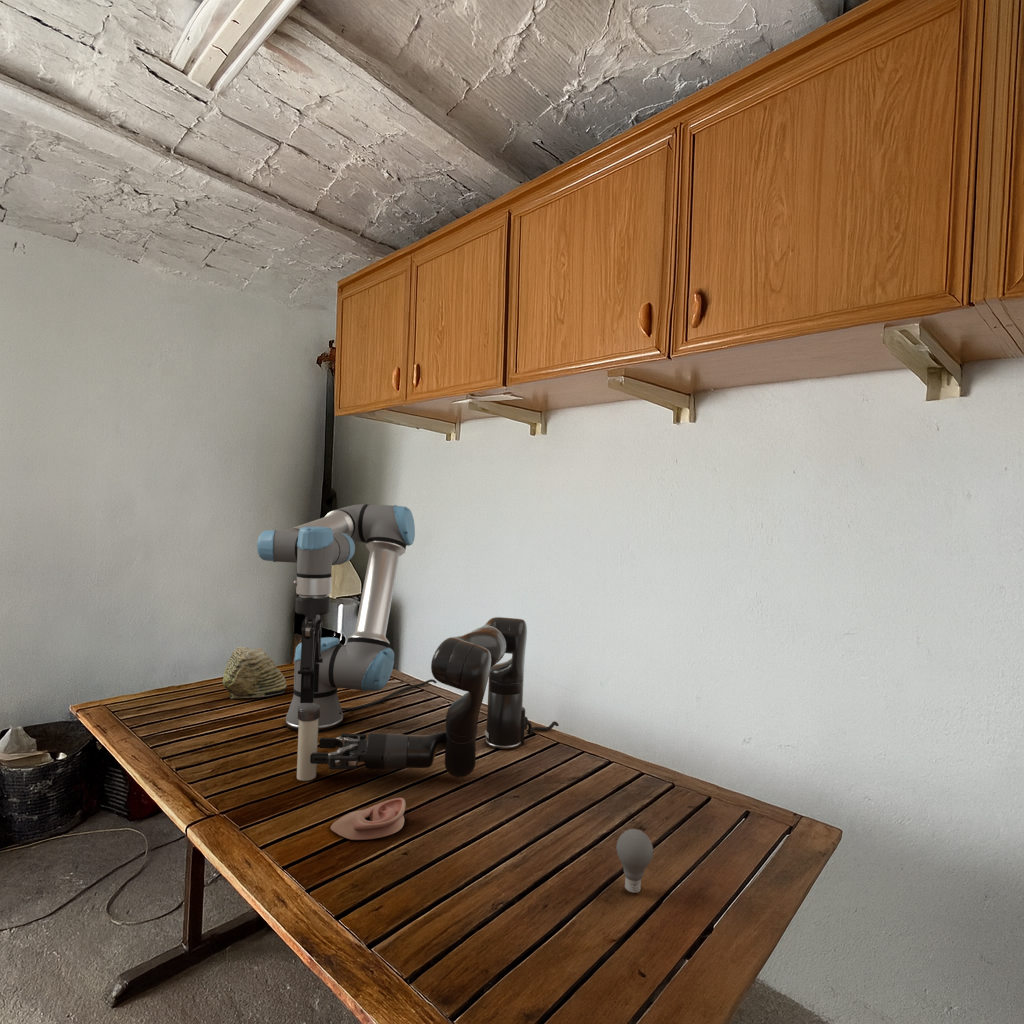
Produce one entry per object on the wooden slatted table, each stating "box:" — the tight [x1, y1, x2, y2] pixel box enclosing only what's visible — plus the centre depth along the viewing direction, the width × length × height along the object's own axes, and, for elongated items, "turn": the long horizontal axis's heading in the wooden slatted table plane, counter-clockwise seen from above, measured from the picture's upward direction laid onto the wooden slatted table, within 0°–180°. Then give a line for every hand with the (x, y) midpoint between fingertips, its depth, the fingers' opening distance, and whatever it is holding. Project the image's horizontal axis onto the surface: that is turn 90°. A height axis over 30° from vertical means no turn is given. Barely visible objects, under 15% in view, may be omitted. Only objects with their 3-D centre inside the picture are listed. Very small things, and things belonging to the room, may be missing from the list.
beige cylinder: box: [296, 718, 319, 782], centre depth 143 cm, size 4×4×16 cm
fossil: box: [222, 646, 288, 699], centre depth 198 cm, size 9×18×15 cm, turn 132°
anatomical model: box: [330, 797, 407, 841], centre depth 123 cm, size 13×4×12 cm
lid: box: [298, 703, 320, 721], centre depth 143 cm, size 5×5×2 cm
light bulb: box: [615, 828, 654, 894], centre depth 106 cm, size 6×6×10 cm
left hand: (309, 696), depth 143 cm, fingers open, 7 cm apart
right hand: (315, 750), depth 143 cm, fingers open, 8 cm apart
